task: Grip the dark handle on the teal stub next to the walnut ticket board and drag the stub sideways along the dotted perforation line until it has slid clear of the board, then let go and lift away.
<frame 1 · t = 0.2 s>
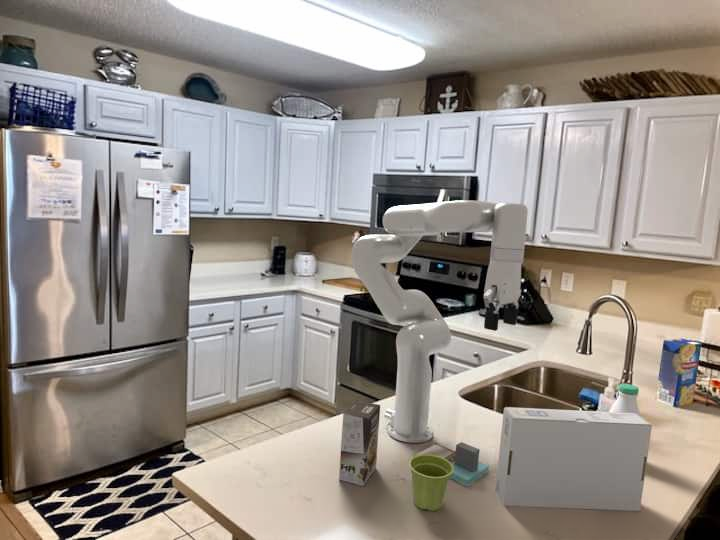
hand: (500, 326, 121), 36 cm above the worktop, tool pointing down, fingers open, 9 cm apart
stub: (466, 459, 122), point 3 cm above the worktop, slide at 0.0 cm
ticket board: (437, 460, 127), on the worktop
milk bottle: (619, 458, 135), on the worktop
plant pot: (427, 504, 109), on the worktop
blue tall rectangular box: (673, 402, 181), on the worktop
packaging: (566, 501, 113), on the worktop
coffee box: (357, 474, 119), on the worktop
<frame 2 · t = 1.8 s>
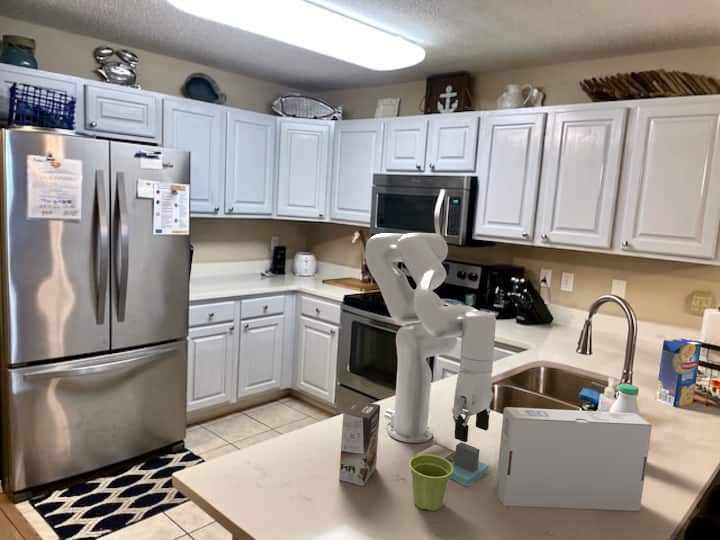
hand: (471, 434, 120), 10 cm above the worktop, tool pointing down, fingers open, 9 cm apart
nothing on the worktop moved.
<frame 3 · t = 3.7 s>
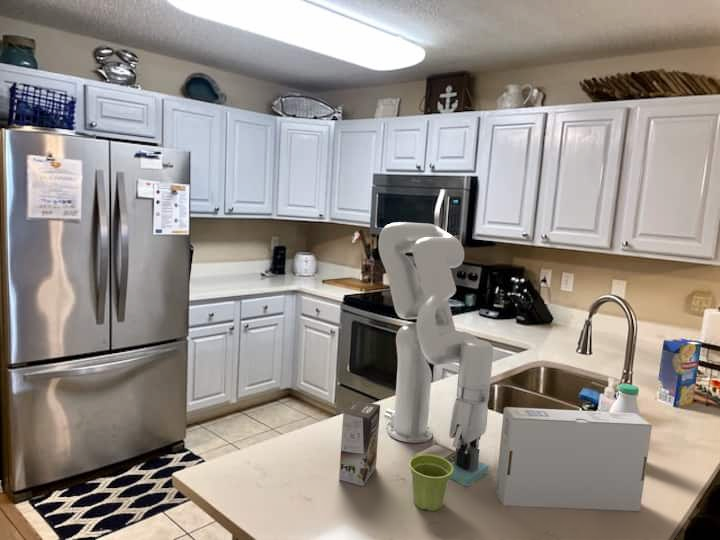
hand: (466, 464, 122), 2 cm above the worktop, tool pointing down, fingers closed on stub, 2 cm apart
stub: (466, 459, 122), point 3 cm above the worktop, slide at 0.0 cm, touching gripper
everything else where it was.
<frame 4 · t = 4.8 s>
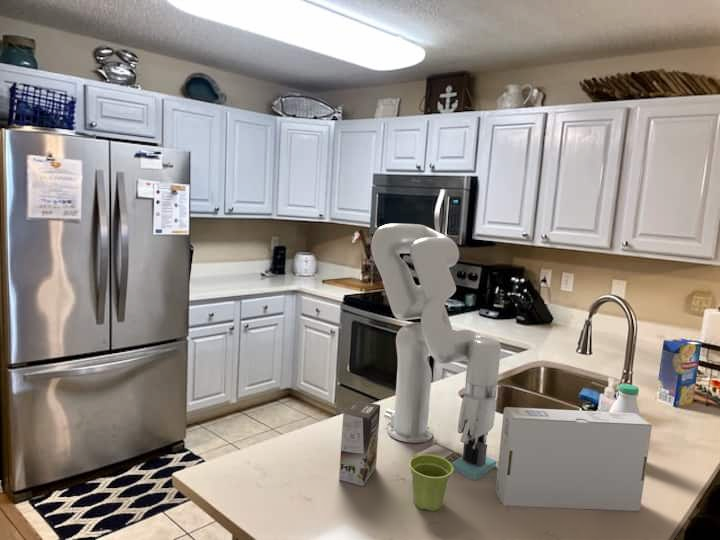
hand: (473, 459, 125), 2 cm above the worktop, tool pointing down, fingers closed on stub, 2 cm apart
stub: (474, 455, 124), point 3 cm above the worktop, slide at 3.7 cm, touching gripper
everything else where it was.
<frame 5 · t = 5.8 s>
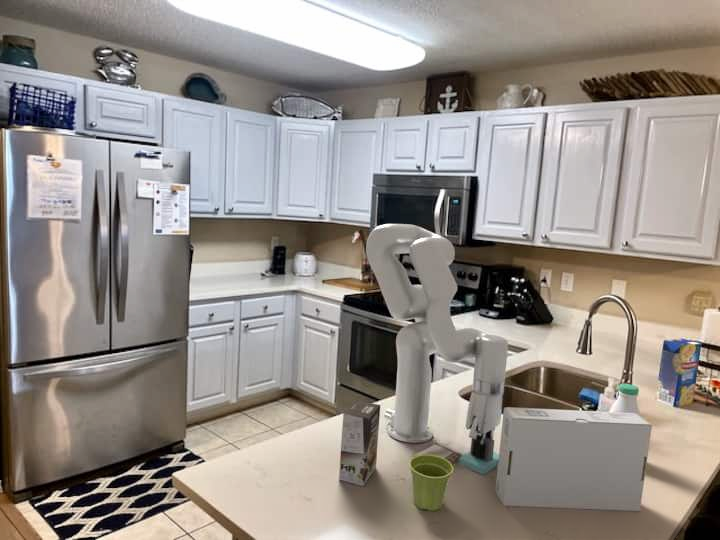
hand: (481, 454, 127), 2 cm above the worktop, tool pointing down, fingers closed on stub, 2 cm apart
stub: (481, 450, 127), point 3 cm above the worktop, slide at 7.5 cm, touching gripper
everything else where it was.
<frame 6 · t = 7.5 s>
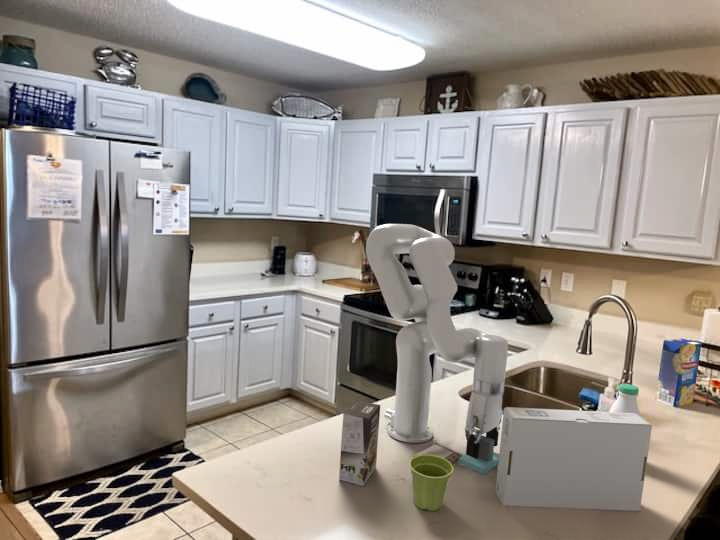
hand: (481, 450, 127), 3 cm above the worktop, tool pointing down, fingers open, 9 cm apart
stub: (481, 450, 127), point 3 cm above the worktop, slide at 7.5 cm
everything else where it was.
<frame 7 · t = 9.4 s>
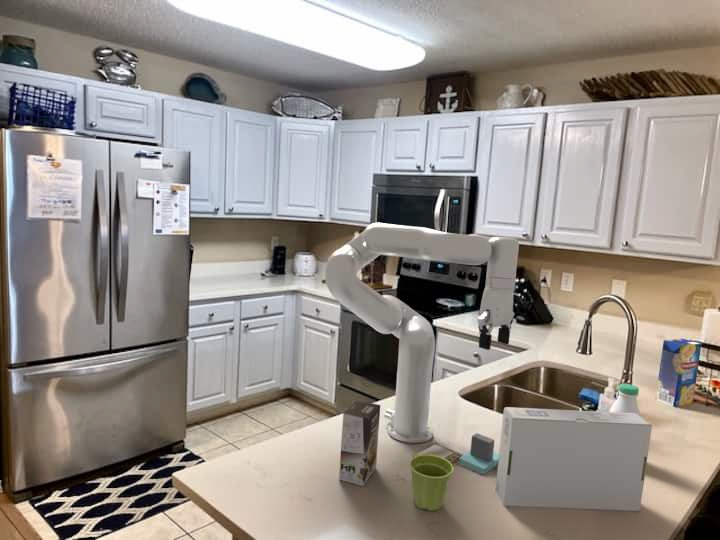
hand: (493, 345, 137), 27 cm above the worktop, tool pointing down, fingers open, 9 cm apart
nothing on the worktop moved.
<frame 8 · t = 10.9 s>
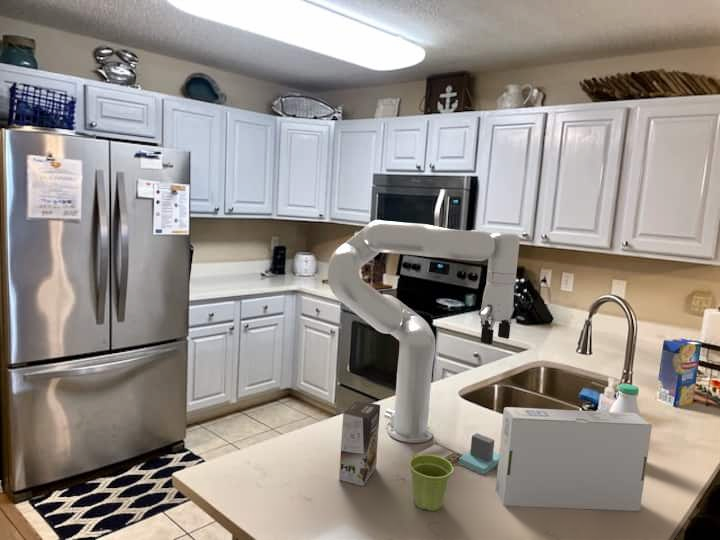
hand: (495, 340, 138), 28 cm above the worktop, tool pointing down, fingers open, 9 cm apart
nothing on the worktop moved.
at the end: stub slide at 7.5 cm; the gripper is holding nothing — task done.
